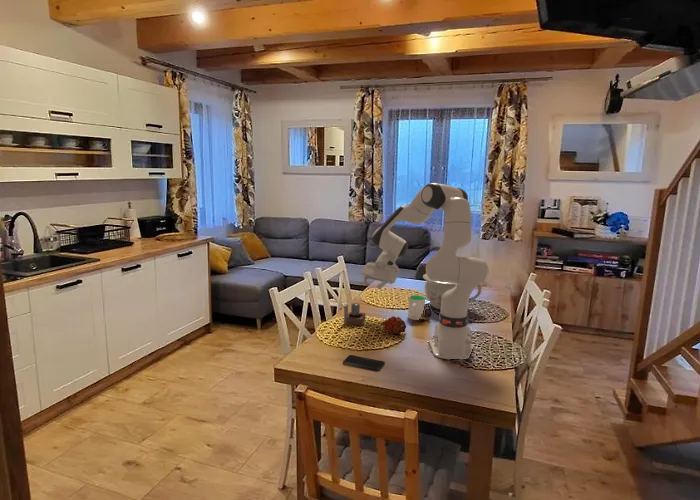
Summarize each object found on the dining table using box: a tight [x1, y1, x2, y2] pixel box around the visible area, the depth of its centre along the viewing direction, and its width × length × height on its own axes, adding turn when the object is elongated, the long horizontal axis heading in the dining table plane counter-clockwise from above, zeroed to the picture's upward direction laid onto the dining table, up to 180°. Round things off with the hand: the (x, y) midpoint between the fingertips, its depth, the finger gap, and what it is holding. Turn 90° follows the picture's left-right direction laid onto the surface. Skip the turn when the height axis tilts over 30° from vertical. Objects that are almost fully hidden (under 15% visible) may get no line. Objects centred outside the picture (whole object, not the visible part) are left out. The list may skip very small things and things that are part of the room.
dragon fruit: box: [381, 315, 407, 335], centre depth 207 cm, size 8×8×12 cm
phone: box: [342, 354, 385, 372], centre depth 176 cm, size 8×1×15 cm
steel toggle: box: [350, 302, 361, 318], centre depth 220 cm, size 4×4×9 cm
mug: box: [407, 294, 426, 321], centre depth 227 cm, size 12×8×10 cm, turn 162°
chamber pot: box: [422, 273, 483, 311], centre depth 245 cm, size 28×28×21 cm
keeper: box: [343, 303, 366, 327], centre depth 219 cm, size 10×9×10 cm
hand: (371, 286), depth 226 cm, fingers open, 8 cm apart
